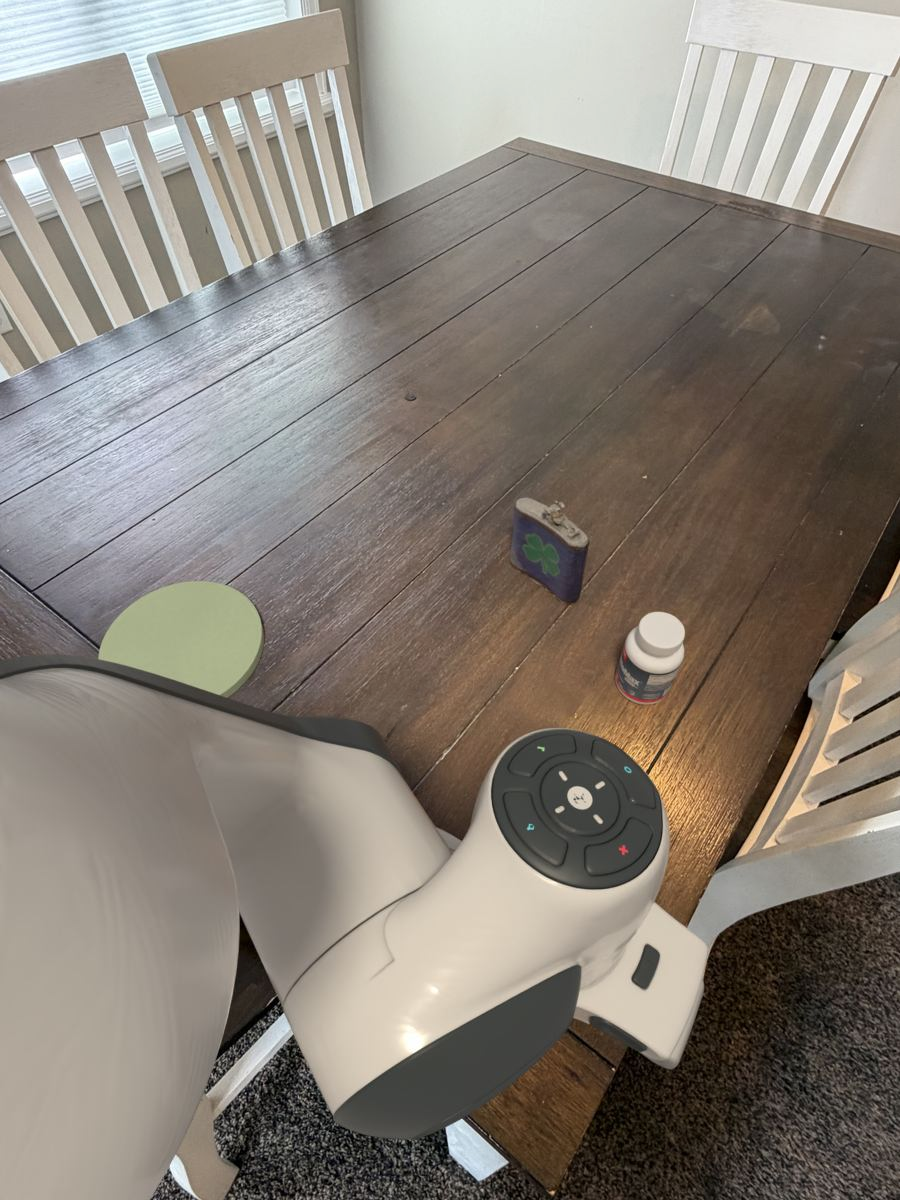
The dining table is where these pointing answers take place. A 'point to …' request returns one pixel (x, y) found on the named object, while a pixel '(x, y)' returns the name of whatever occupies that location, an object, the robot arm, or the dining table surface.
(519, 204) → the dining table surface
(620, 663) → the pill bottle
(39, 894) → the robot arm
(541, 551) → the flask
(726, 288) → the dining table surface
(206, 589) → the plate
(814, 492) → the dining table surface
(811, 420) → the dining table surface
